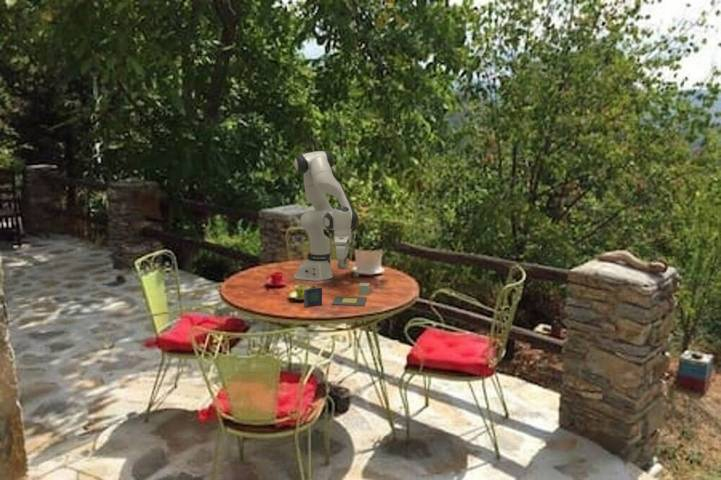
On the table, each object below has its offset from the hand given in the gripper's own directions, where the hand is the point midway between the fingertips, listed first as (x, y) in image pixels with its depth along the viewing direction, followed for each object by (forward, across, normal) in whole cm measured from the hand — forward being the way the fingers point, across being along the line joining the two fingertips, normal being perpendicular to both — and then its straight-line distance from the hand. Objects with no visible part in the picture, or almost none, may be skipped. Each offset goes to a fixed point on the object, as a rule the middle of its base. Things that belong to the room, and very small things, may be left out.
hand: (343, 265), depth 299 cm
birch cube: (+2, 0, 0) cm, 2 cm away
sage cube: (+16, -4, +10) cm, 19 cm away
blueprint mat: (+16, +11, +4) cm, 20 cm away
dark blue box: (+16, +19, -12) cm, 28 cm away
